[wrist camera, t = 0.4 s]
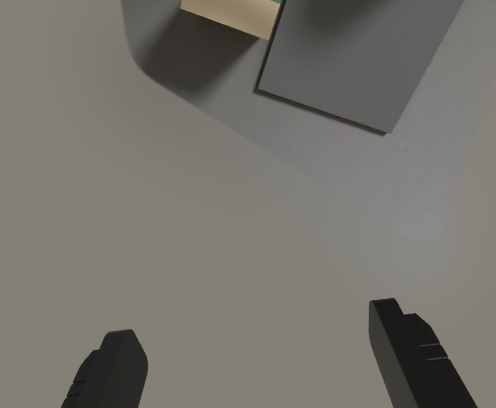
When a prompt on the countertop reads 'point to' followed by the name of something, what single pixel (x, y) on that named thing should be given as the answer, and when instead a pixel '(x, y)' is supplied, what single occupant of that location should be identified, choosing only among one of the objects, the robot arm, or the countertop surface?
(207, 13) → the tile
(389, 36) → the mat
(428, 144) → the countertop surface
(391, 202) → the countertop surface
